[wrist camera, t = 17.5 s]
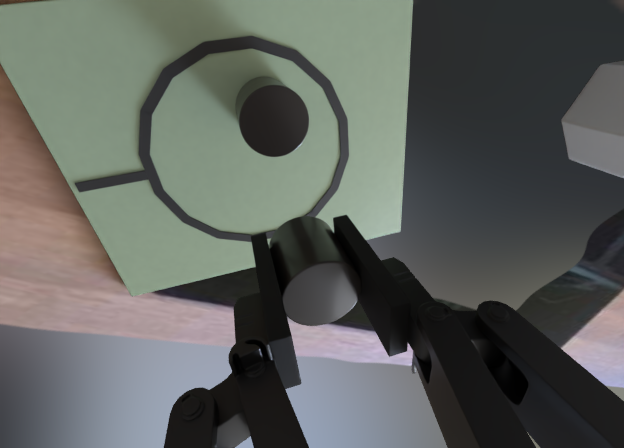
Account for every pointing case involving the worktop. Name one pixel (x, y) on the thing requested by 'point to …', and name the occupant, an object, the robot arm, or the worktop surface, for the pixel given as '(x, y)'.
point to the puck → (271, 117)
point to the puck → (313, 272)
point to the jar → (598, 121)
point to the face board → (212, 120)
